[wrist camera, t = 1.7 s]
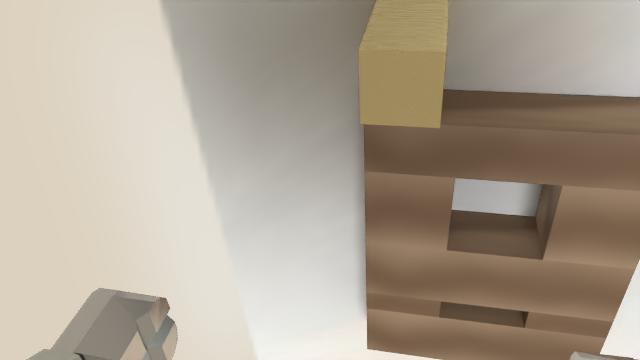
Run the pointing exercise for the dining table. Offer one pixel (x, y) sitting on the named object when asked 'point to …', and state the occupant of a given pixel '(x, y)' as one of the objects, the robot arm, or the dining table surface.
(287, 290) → the dining table surface
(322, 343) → the dining table surface
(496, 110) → the wooden slotted board
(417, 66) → the square bit
